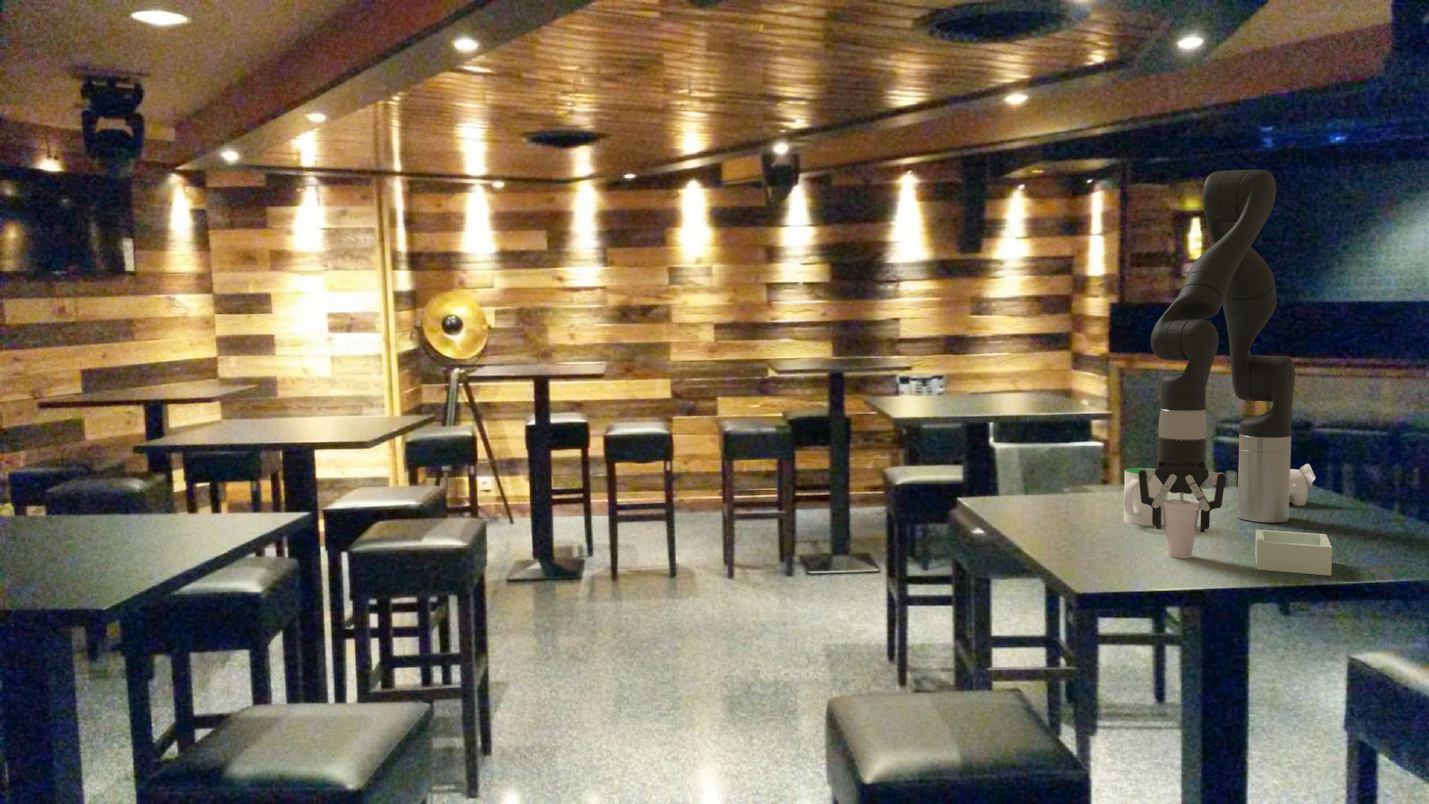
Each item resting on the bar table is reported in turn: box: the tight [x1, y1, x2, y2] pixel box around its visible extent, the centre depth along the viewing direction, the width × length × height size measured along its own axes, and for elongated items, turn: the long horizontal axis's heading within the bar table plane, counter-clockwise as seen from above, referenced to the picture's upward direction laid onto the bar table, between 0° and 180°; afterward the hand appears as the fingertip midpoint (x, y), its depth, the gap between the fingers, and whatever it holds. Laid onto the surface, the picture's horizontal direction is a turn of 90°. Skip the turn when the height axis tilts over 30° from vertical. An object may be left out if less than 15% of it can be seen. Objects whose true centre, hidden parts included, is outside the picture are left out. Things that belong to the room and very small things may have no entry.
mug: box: [1123, 467, 1168, 527], centre depth 204 cm, size 12×8×10 cm, turn 136°
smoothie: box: [1161, 492, 1202, 560], centre depth 176 cm, size 6×6×14 cm
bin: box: [1254, 529, 1333, 577], centre depth 169 cm, size 10×10×5 cm
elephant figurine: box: [1289, 463, 1316, 507], centre depth 222 cm, size 10×12×9 cm
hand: (1180, 529), depth 176 cm, fingers closed on smoothie, 6 cm apart
